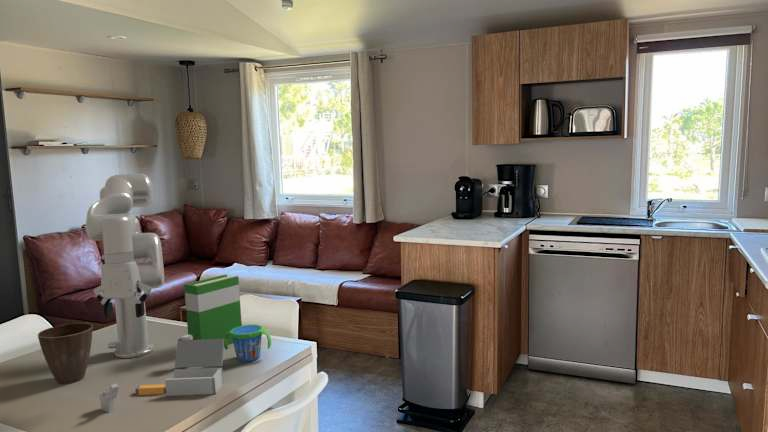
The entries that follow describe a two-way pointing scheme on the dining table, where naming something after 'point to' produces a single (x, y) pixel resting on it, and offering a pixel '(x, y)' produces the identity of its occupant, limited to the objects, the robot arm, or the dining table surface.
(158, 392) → the orange cartridge
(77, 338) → the plant pot
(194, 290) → the hardback book
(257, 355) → the snack cup
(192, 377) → the open box
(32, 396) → the dining table surface
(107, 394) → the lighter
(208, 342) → the cover
